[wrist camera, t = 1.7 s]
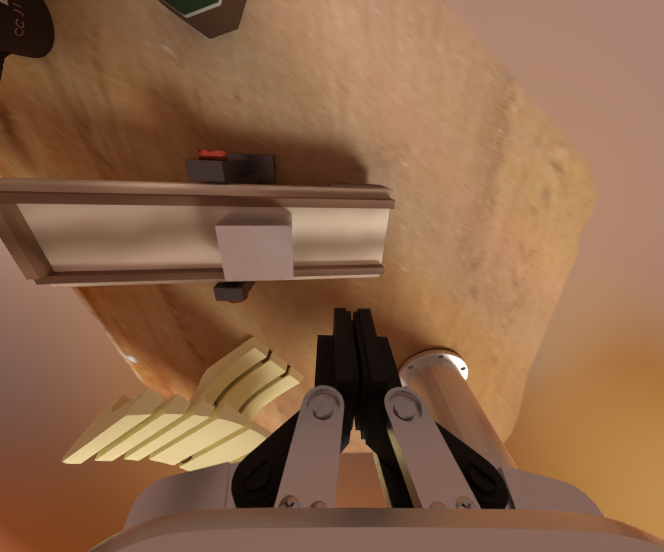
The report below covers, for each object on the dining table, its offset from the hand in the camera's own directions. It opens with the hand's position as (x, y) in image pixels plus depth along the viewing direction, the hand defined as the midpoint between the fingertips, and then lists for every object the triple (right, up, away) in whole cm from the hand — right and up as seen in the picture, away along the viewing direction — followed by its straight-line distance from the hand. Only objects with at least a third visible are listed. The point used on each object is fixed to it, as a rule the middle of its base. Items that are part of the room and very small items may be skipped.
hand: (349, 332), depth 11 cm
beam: (-12, +9, +16) cm, 22 cm away
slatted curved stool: (-16, -16, +33) cm, 41 cm away
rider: (-8, +7, +13) cm, 16 cm away
